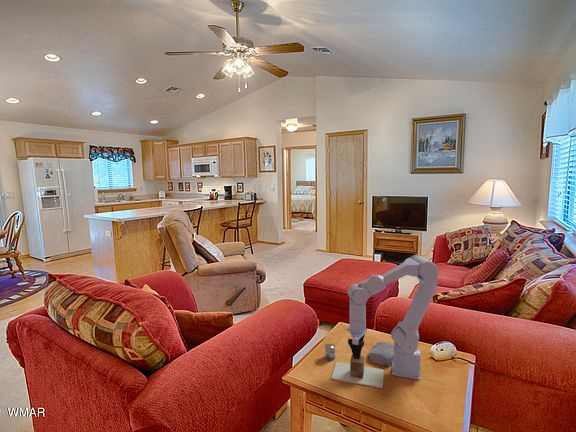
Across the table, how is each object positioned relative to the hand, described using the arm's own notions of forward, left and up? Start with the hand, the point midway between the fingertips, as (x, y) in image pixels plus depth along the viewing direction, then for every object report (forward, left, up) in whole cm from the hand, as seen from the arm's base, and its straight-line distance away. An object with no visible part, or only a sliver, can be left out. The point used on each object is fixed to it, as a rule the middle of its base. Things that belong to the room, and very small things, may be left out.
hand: (357, 352), depth 117 cm
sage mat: (0, 0, -9) cm, 9 cm away
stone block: (-8, -15, -10) cm, 20 cm away
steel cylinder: (+12, -8, -9) cm, 17 cm away
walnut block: (0, 0, -9) cm, 9 cm away
